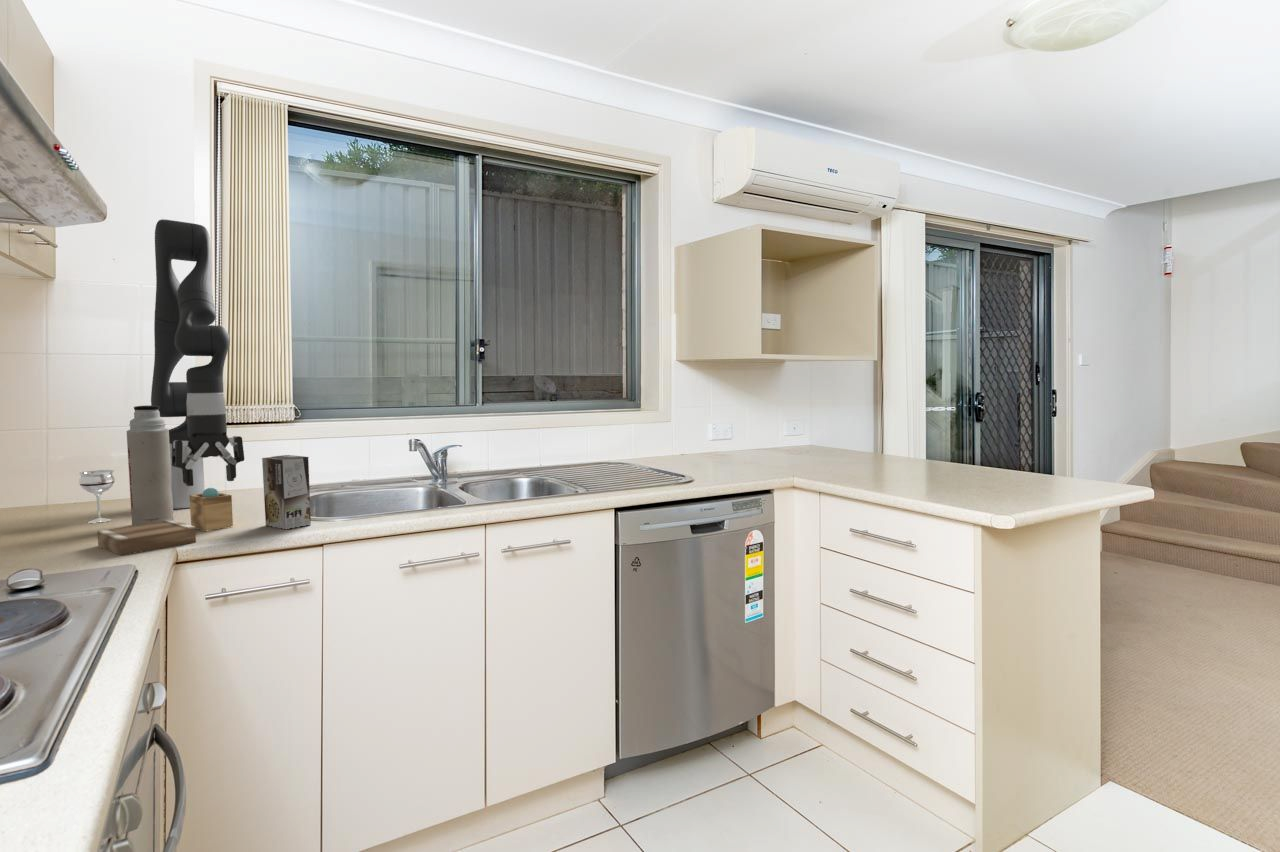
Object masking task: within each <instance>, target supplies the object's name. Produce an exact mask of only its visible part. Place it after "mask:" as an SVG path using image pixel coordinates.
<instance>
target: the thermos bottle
mask: <svg viewBox="0 0 1280 852" xmlns="http://www.w3.org/2000/svg"><path fill="white" fill-rule="evenodd" d="M159 409H160V406H152V405H137V406H133V410H134V412H133V418H132V419H131V420H130V421H129V424H128V425H129V429H128V430H126V444H127V447H126V448H127V461H128V463H127V465H128V479H129V480H128V483H129V493H130V494H129V497H130V512H131V513H130V514H131V526H137V525H144V524H151V523H157V522H164V520H168V519H171V520H174V521H175V519H174V509H173V500H172V490H171V463H170V444H169V430H170V429H168V428H166V421H165V419H163V417H160V412H159Z"/></svg>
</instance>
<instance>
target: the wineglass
mask: <svg viewBox="0 0 1280 852" xmlns="http://www.w3.org/2000/svg"><path fill="white" fill-rule="evenodd" d="M114 472H115V470H113V469H102V470H101V469H99V470H98V469H97V470H87V471H81V472H78V474H79V475H80V477H79V480H78V484H79V485H80V487H81V488H82V489H83V490H84V491H86V492H87V493H90V494H93V495H94V496H96V498H95V499H96V507H97V514H98V515H97V516H98V517H97V518H95V519H92V520H89V521H87V522H88V523H87V524H90V523H93V524H97V523H96V522H104V523H107V522H106V521H109V520H111V518H106V517H105V518H104V517H102V516H101V511H102V510H101V496H102V495H103V493H105V492H107V491H108V490H110V489H112V488H113V486H114V485H115V482H116V478H115V476H114ZM109 522H110V521H109Z"/></svg>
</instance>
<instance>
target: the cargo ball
mask: <svg viewBox="0 0 1280 852" xmlns="http://www.w3.org/2000/svg"><path fill="white" fill-rule="evenodd" d="M218 492H219V491H218V490H217V488H214V487H207V488H206V489H205V490H204V492H203V494H202V497H205V498H210V497H218V496H219V493H220V492H219V493H218Z"/></svg>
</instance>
